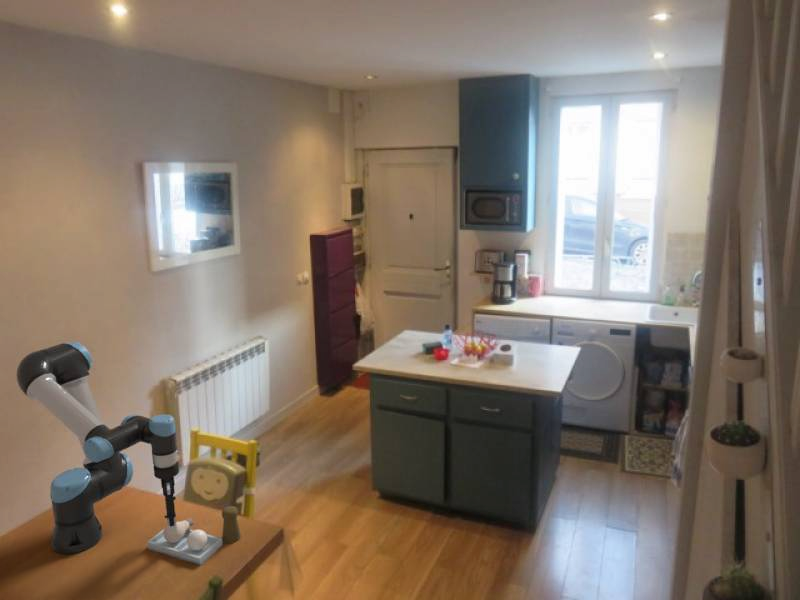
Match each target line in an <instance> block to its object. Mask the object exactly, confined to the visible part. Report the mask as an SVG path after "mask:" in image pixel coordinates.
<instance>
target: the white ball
mask: <svg viewBox="0 0 800 600" xmlns="http://www.w3.org/2000/svg"><path fill="white" fill-rule="evenodd" d="M193 530H194V531H192V532H191V533H190V534H189V535H188V537H187V545H188V547H189V548H190V549H191V550H194V551H198V550H201V549H202V548H204V547H205V545H206V544H207V535H206V534H207V533H206V532H205V531H204V530H202V529H193Z"/></svg>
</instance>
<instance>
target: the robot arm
mask: <svg viewBox="0 0 800 600" xmlns="http://www.w3.org/2000/svg"><path fill="white" fill-rule="evenodd" d="M92 363H93V358H92V356H91V353H90V351H89V349H87V348H86V347H85V345H84V344H81V343H79V342H77V341H69V342H64V343H60V344H57V345H54V346H49V347H47V348H43V349H40V350H37V351H33V352H31V353H29V354H27V355H26V356H24V357H23V358H22V359H21V361H19V364H18V366H17V368H16V382H17V384H18V385H17V386H18V387H19V389H20V390H21V391H22V392H23V394H24V395H25V396H26V397H27V398H29V399H31V400H36V401H38V403H39V404H41V405H42V406H43V407H44V408H45V410H47V411H49V412H50V413H51V414H52V415H53V416H54V417H55V418H56V419H58V421H59V422H60V423H62V424H63V425H64V426H65V427H66V428H67V429H68V430H70V431H71V432H72V433H73V434H74V435H75V436H76V437H77V439H78V441H79V443H80V446H81V449H82V451H83V454H84V456H85V457H84V459H83V462H82V465H83V467H74V468H73V469H72V468H70V469H68V470H65V471H63V472H61V473H59V474H58V475H57V476H56V477H54V478H53V480H52V481H51V483H50V487H49V489H50V493H49V494H50V495H49V496H50V497H49V498H50V500H51V506H52V513H53V521H54V527H53V533H52V535H51V538H50V543H51V549H52V550H53V551H54V552H55V553H58V554H63V555H69V554H70V555H71V554H77V553H80V552H83V551H86V550H88V549H90V548H92V547H94V546H96V544H98V543H99V542H100V541H101V539H102V538H103V536H104V534H103V526H102V524H101V523H100V521H99V519H98V517H97V515H96V514H95V507H94V506H95V504H97V503H98V502H99V501H102V500H103V499H105V498H107V497H108V496H110V495H112V494H114V493H116V492H118V491H120V490H122V489H123V488H124V487H126V486H128V485H129V484H130V483H131V481H132V479H133V475H134V467H133V463H132V460H131V459H130V457H129V456H128V455H127V454H126V453H124V452H122V451H124V450H127V449H129V448H131V447H133V446H135V445H137V444H139V443H145V444H147V445H151V446H150V447H151V456H152V457H151V458H152V464H153V475H154V477H155V478H156V479H159V480H160V482H161V483H160V484H161V488H162V493H163V494H162V495H163V496H164V501H165V502H164V504H165V513H166V515H164V519H166V526H168V535H170V534H175V533H177V525H176V522H177V517H176V516H177V515H176V508H175V500H176V496H174V494H175V493H176V491H175V477H176V476H178V475H179V473H180V464H179V456H178V455H179V454H180V450H178V445H177V444H178V443H177V441H178V440H177V427H176V423H175V418H174V416H173V415H171V414H168V413H167V414H166V413H165V414H164V413H163V414H157V415H154V416H152V417H151V418H150V417H146V416H143V415H141V414H140V415H138V414H137V415H136V414H129V415H127V416H125V417H124V419H122V421H121V422H120V425H118V426H115V427H113V428H109V427H108V426H106V424H105V423H104V422H103V420H102V417H101V414H100V412H99V409H98V406H97V404H96V402H95V399H94V397H93V393H92V391H91V389H90V386H89V383H88V381H89V378H90V376H91V375H90V372H89V371H90V370H91V369H92V367H93V364H92Z"/></svg>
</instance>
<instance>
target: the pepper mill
mask: <svg viewBox="0 0 800 600" xmlns="http://www.w3.org/2000/svg"><path fill="white" fill-rule="evenodd" d="M238 515H239V510H238V508H237V507H236V506H233V505H230V506H226V507H224V508H223V509H222V511H221V517H222V519H223V526H222V536H221V538H222V542H223V543H225V544H234V543H236V542H238V541H239V540H240V539H242V538H241V537H242V535H241V530H240V527H239V522H238V521H239V520H238Z"/></svg>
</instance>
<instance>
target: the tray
mask: <svg viewBox="0 0 800 600" xmlns="http://www.w3.org/2000/svg"><path fill="white" fill-rule="evenodd" d="M164 529H165V528H164ZM164 529H162V530H161V531H159V532H158V533H157V534H156V535H154V536H153V537H152V538H150V539H149V540H148V541H146V545H147V550H151V551H153V552H158V553H160V554H163V555H166V556H168V557H172V558H176V559H179V560H182V561H185V562H188V563H191V564H194V565H197V566H201V565H203V564H204V563H205V562H206V561H207V560H209V558H210V557H211V556H213V555H214V554H215V553H216V552H217V551H218V550H220V549H221V547H222V546H224V545H223V543H224V542H223V540H222V537H219V536H215V535H212V534H207V533H206V535H207V544H206V545H205V547H204V548H202V549H201V550H198V551H194V550H191V549H190V548H189V547H188V545H187V537H188V535H189V534H190V533H191V532H192V531H194V530H195V529H191V528H189V529H188V530H187V531H186V532H185V534H184V536H183V538H182V539H181V540H180V541H178V542H176V543H170V542H167V541H166V540H165V538H164V534H163V532H164Z"/></svg>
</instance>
